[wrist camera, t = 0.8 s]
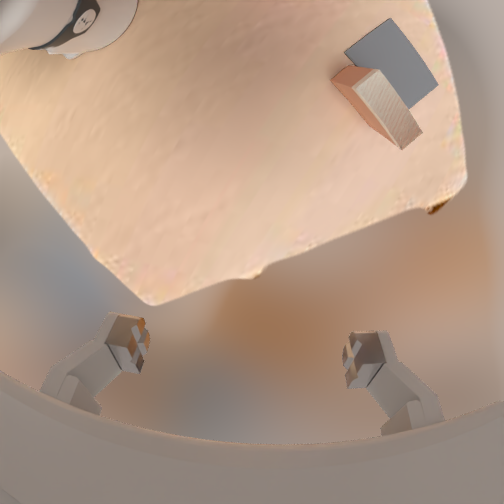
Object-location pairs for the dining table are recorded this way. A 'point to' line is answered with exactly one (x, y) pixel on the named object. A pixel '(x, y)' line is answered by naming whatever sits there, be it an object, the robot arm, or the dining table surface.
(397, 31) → the slate mat
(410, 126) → the salmon orange block
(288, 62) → the dining table surface
